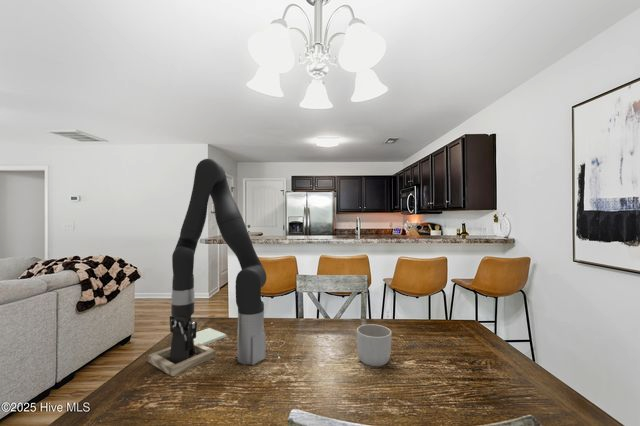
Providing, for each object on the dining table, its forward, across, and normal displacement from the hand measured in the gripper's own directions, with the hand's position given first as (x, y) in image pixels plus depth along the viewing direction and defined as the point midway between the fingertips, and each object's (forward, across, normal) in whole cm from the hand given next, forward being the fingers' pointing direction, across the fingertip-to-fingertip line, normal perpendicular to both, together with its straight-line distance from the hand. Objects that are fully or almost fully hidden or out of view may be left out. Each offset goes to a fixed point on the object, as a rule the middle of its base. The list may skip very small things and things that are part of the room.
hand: (182, 347), depth 107 cm
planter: (+5, -56, -40) cm, 69 cm away
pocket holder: (+4, 0, 0) cm, 4 cm away
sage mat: (+4, +10, -16) cm, 19 cm away
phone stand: (+4, 0, 0) cm, 4 cm away
